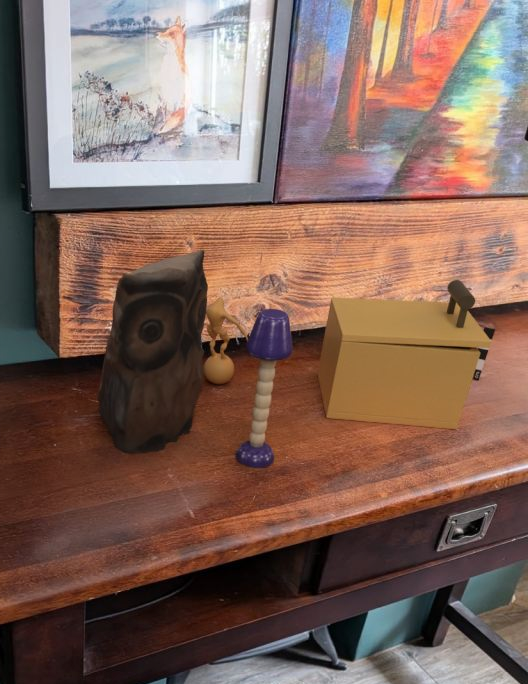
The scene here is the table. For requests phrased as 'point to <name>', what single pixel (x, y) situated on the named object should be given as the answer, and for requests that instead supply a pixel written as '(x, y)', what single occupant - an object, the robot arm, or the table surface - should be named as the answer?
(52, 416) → the table surface
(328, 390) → the chest
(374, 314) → the lid
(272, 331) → the toy lamp
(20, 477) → the table surface
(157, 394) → the owl
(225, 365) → the figurine
